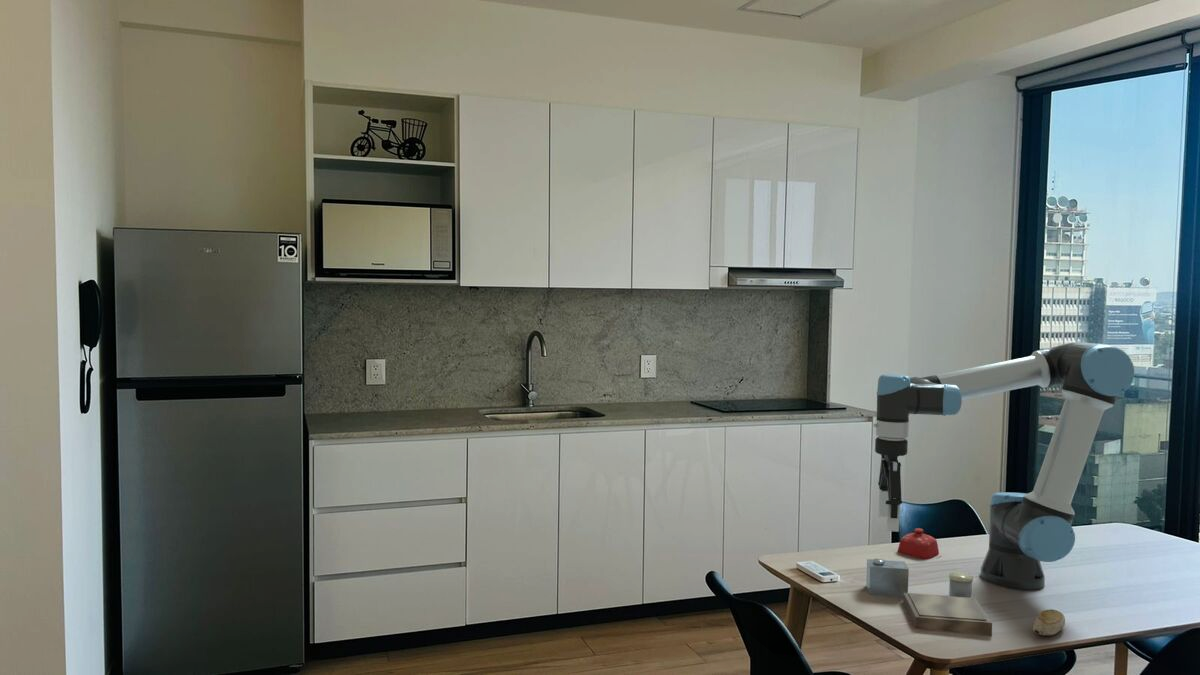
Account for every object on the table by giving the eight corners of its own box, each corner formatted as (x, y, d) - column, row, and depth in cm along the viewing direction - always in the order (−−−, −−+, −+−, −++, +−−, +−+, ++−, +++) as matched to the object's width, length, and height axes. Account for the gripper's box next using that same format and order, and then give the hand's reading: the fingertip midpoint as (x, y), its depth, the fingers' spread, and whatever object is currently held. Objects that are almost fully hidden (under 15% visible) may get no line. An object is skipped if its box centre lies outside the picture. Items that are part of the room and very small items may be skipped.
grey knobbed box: (903, 593, 219) (904, 558, 219) (907, 601, 214) (908, 565, 213) (866, 590, 221) (867, 556, 221) (869, 598, 215) (870, 563, 215)
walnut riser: (973, 610, 208) (974, 596, 208) (991, 636, 192) (992, 621, 192) (903, 604, 211) (903, 591, 211) (915, 630, 195) (915, 616, 195)
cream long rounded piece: (1053, 629, 188) (1048, 647, 189) (1073, 610, 198) (1068, 628, 199) (1028, 618, 191) (1023, 636, 192) (1048, 600, 202) (1043, 617, 202)
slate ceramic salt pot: (969, 599, 216) (970, 572, 215) (974, 607, 210) (975, 579, 210) (945, 597, 217) (946, 571, 216) (950, 605, 211) (951, 578, 211)
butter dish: (926, 567, 241) (928, 536, 241) (888, 557, 250) (889, 527, 249) (947, 559, 249) (948, 529, 248) (909, 549, 257) (910, 520, 257)
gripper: (869, 429, 228) (866, 510, 229) (883, 445, 203) (879, 536, 205) (899, 430, 227) (896, 511, 228) (916, 447, 202) (913, 538, 203)
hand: (888, 523), depth 216 cm, fingers open, 13 cm apart
